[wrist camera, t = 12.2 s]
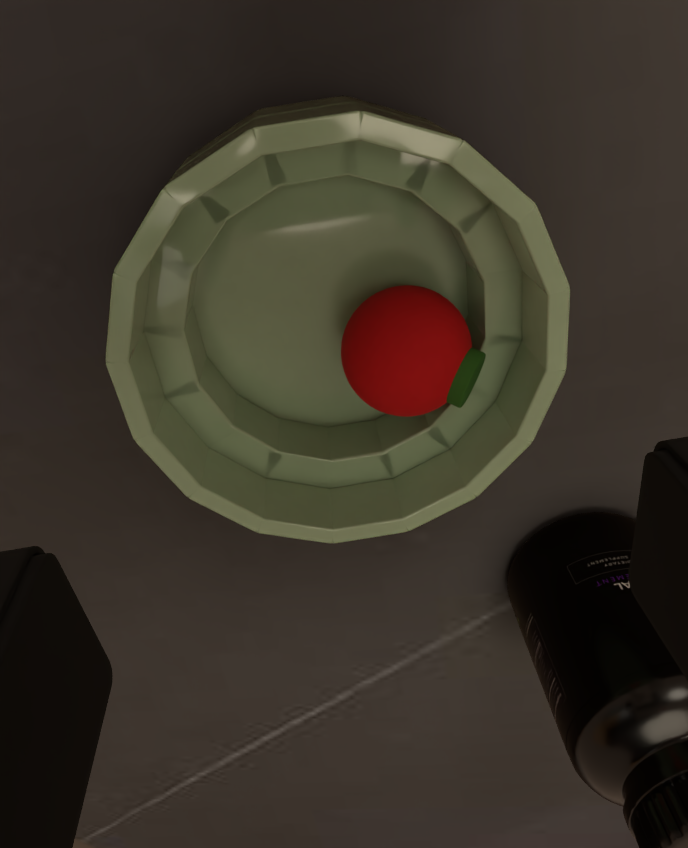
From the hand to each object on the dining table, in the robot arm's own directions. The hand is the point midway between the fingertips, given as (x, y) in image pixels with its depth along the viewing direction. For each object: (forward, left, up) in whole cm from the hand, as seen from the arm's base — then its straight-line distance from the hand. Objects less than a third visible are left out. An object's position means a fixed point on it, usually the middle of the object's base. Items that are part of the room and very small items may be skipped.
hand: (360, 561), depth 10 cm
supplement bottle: (+14, +9, -13) cm, 22 cm away
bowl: (0, 0, -13) cm, 13 cm away
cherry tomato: (+1, +1, -11) cm, 11 cm away
